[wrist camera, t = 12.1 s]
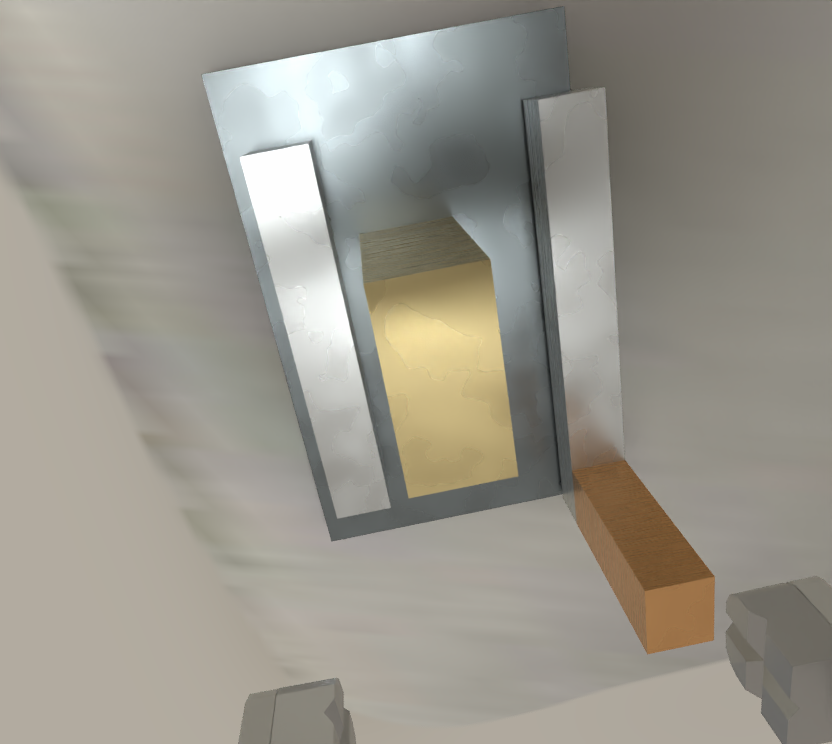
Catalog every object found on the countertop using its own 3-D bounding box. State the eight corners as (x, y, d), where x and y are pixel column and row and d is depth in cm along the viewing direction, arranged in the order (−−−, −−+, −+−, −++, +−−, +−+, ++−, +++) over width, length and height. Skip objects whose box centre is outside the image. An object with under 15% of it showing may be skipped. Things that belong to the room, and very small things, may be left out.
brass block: (394, 402, 31) (408, 498, 23) (359, 234, 27) (363, 283, 20) (477, 385, 31) (518, 476, 23) (452, 216, 27) (490, 259, 20)
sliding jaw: (523, 99, 26) (623, 100, 16) (584, 88, 26) (721, 81, 16) (562, 497, 33) (647, 654, 24) (610, 487, 33) (713, 640, 24)
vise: (209, 75, 26) (186, 71, 22) (552, 11, 26) (586, -4, 23) (332, 523, 35) (330, 574, 31) (588, 471, 35) (617, 515, 31)
